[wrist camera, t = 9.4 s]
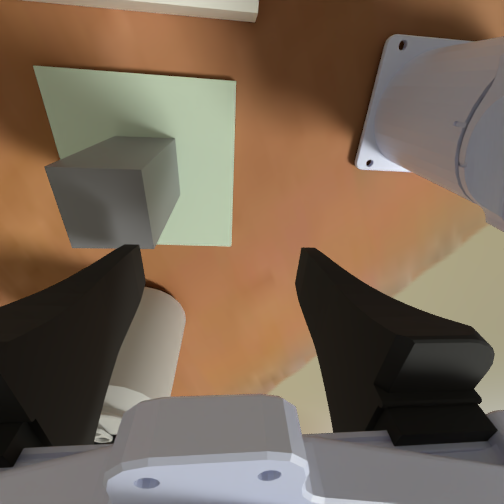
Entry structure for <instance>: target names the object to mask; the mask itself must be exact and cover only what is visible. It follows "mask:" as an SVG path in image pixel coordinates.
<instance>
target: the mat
mask: <svg viewBox="0 0 504 504" xmlns="http://www.w3.org/2000/svg"><path fill="white" fill-rule="evenodd" d="M33 68H34V71H35V75H36V78H37V81H38V85H39V88H40V92H41V95H42V99H43V102H44V105H45V109H46V112H47V116H48V119H49V123H50V126H51V130H52V133H53V136H54V140H55V143H56V147H57V150H58V154H59V157H60V160H61V159H63V158H65V157H68V156H70V155H72V154H75V153H77V152H79V151H81V150H84V149H86V148H88V147H91V146H93V145H95V144H97V143H100V142H102V141H104V140H107V139H109V138H111V137H114V136H126V137H152V138H175V142H176V153H177V163H178V174H179V185H180V197H179V199H178V201H177V203H176V205H175V207H174V209H173V211H172V213H171V215H170V217H169V219H168V221H167V224H166V226H165V228H164V230H163V232H162V234H161V236H160V238H159V240H158V242H157V244H163V245H199V246H231V240H232V206H233V172H234V138H235V104H236V81H229V80H216V79H203V78H190V77H177V76H164V75H151V74H138V73H125V72H112V71H98V70H85V69H72V68H59V67H46V66H33Z"/></svg>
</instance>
